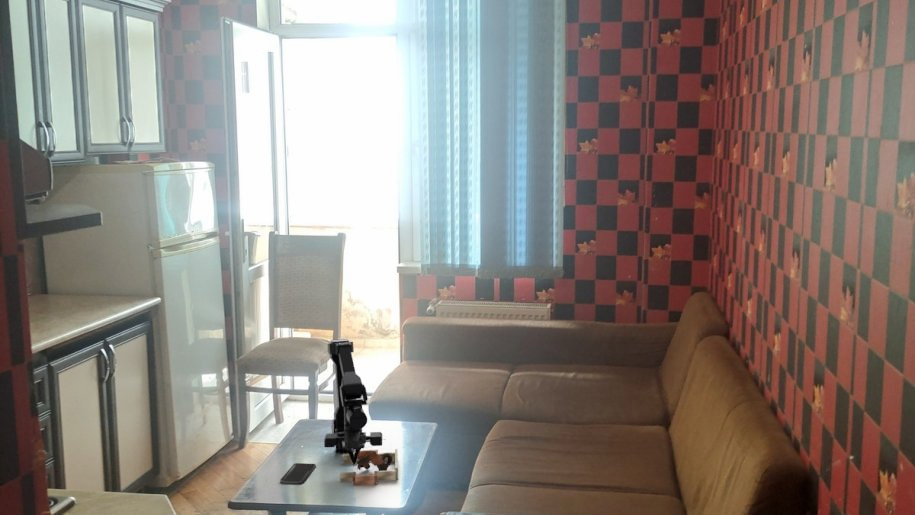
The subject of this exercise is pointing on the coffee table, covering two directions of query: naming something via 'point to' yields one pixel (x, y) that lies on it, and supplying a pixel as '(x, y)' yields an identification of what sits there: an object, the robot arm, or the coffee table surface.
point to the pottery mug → (375, 461)
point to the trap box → (377, 474)
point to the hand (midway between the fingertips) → (354, 464)
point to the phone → (298, 473)
